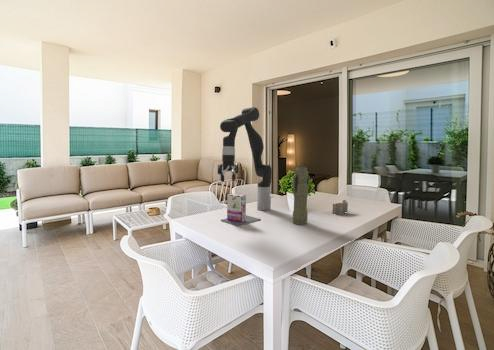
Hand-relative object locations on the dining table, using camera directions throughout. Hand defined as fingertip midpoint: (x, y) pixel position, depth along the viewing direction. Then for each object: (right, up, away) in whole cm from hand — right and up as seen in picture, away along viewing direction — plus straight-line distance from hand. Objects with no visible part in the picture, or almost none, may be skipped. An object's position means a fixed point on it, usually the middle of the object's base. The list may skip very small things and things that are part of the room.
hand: (228, 181), depth 175 cm
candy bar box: (+5, -25, +8) cm, 27 cm away
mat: (+7, -25, +10) cm, 28 cm away
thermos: (+44, -26, +5) cm, 52 cm away
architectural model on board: (+77, -24, +31) cm, 86 cm away
